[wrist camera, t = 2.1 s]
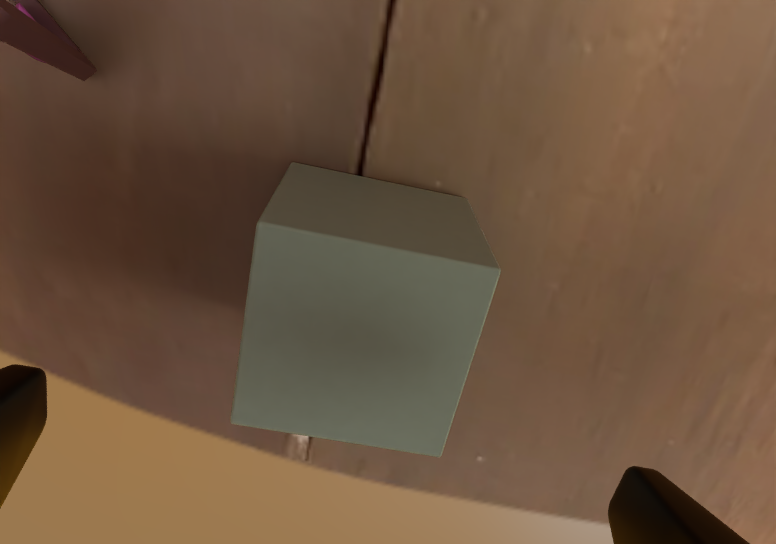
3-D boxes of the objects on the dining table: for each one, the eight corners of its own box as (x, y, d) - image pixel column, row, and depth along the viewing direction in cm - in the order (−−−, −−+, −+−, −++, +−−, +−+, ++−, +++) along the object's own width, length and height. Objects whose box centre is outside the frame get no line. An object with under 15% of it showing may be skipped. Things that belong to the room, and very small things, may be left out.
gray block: (266, 319, 16) (229, 424, 12) (291, 160, 14) (256, 221, 10) (425, 348, 17) (441, 459, 12) (467, 197, 15) (502, 269, 11)
